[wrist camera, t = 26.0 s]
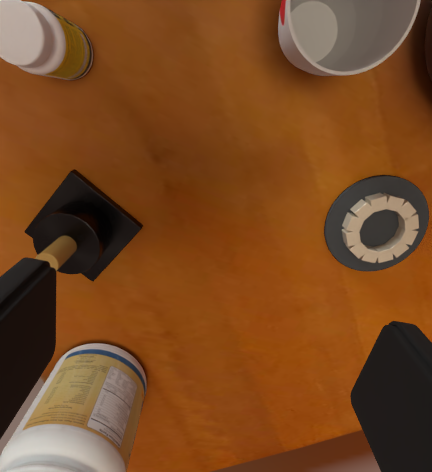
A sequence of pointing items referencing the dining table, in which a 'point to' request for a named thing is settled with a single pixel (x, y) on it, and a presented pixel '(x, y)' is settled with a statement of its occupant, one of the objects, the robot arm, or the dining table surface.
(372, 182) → the coaster
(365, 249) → the ring
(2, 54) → the supplement bottle
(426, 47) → the vase
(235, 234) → the dining table surface
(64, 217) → the ring holder
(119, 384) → the supplement tub
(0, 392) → the robot arm
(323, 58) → the cup
